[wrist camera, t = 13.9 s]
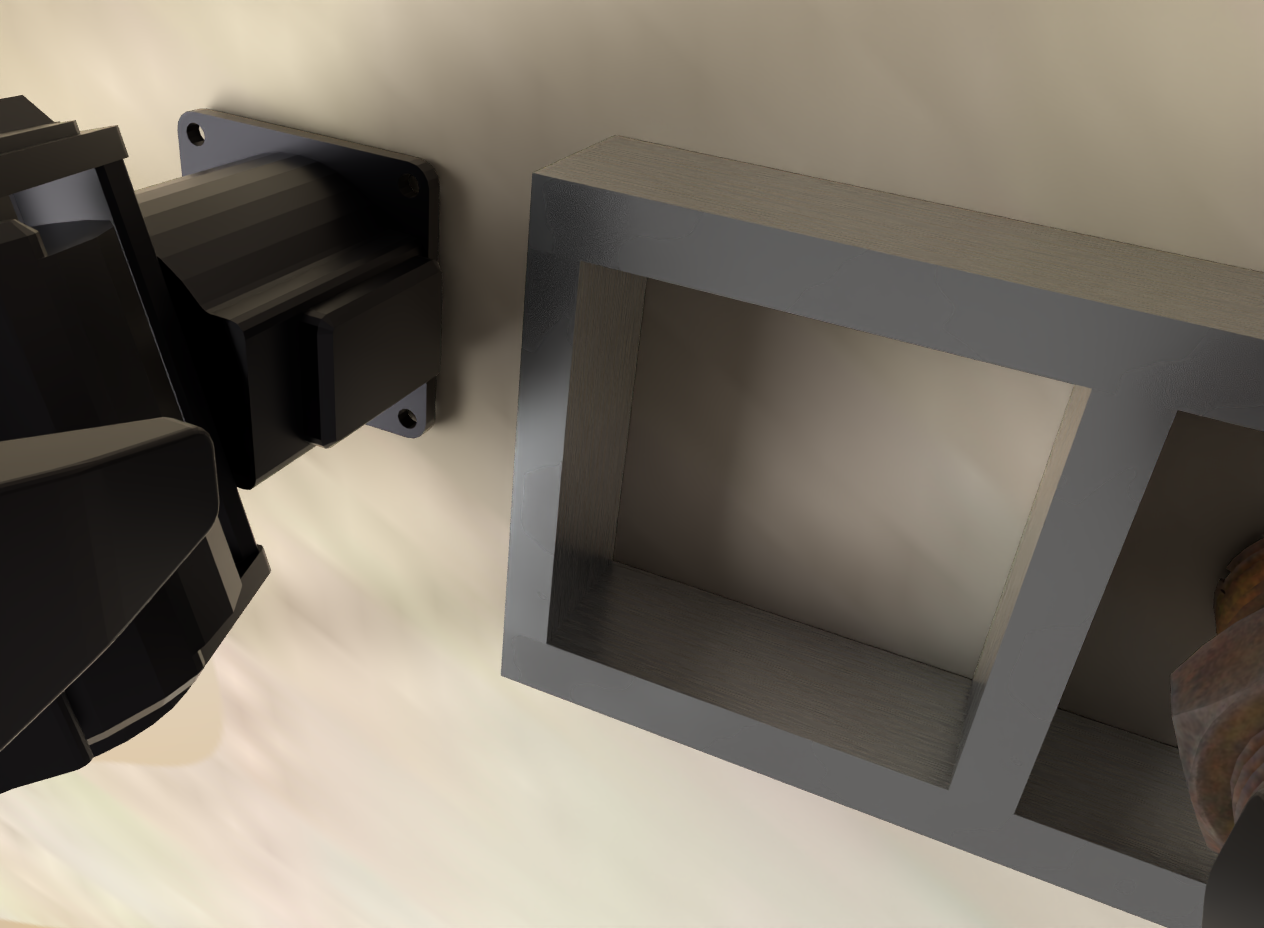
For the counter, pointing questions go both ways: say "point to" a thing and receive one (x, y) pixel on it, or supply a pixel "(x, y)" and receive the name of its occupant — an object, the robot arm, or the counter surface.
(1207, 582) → the counter surface
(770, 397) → the counter surface
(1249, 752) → the bolt
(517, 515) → the grey divided tray
